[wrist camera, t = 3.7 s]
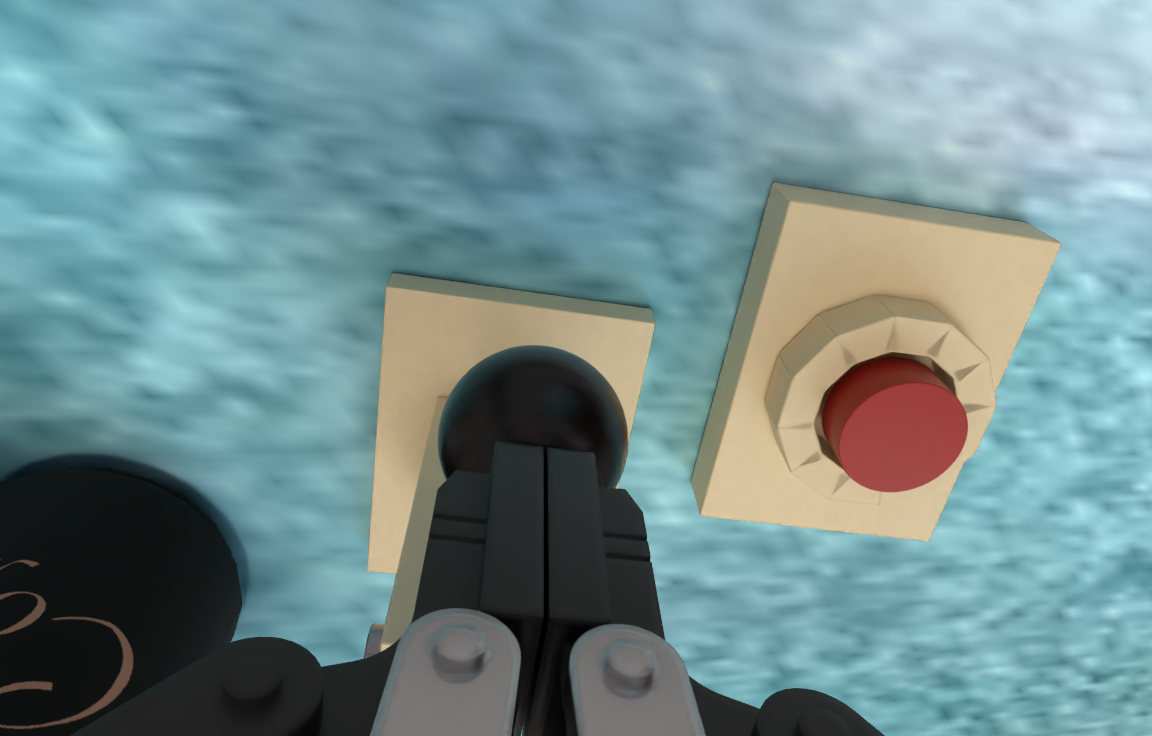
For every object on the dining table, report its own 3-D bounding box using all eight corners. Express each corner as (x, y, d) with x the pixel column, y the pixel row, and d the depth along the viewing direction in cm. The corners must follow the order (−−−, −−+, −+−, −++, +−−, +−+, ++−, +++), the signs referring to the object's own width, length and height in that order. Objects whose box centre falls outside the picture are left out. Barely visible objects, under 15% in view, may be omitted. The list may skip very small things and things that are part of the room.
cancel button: (842, 348, 26) (862, 374, 24) (962, 364, 26) (988, 391, 25) (806, 454, 28) (821, 485, 26) (919, 468, 28) (941, 499, 27)
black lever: (456, 293, 14) (427, 452, 12) (645, 318, 14) (651, 479, 12) (429, 620, 23) (411, 738, 21) (542, 630, 24) (535, 749, 22)
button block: (771, 181, 27) (806, 217, 24) (1027, 221, 28) (1097, 262, 25) (689, 481, 33) (708, 548, 29) (906, 507, 34) (950, 574, 30)
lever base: (392, 272, 28) (290, 496, 17) (651, 308, 29) (721, 543, 18) (372, 549, 34) (285, 862, 22) (592, 572, 34) (617, 883, 23)
